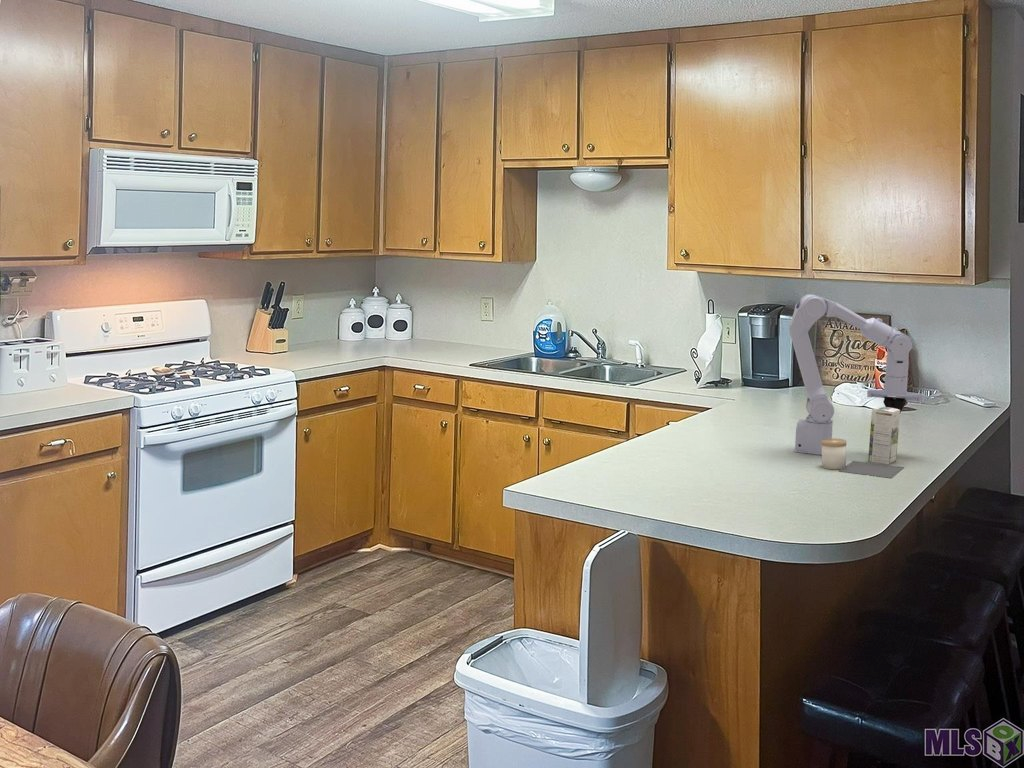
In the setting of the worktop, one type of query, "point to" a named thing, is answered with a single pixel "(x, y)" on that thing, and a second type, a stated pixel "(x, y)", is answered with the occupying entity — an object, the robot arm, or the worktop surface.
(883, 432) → the syrup box
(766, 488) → the worktop surface
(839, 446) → the canister
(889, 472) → the mat
